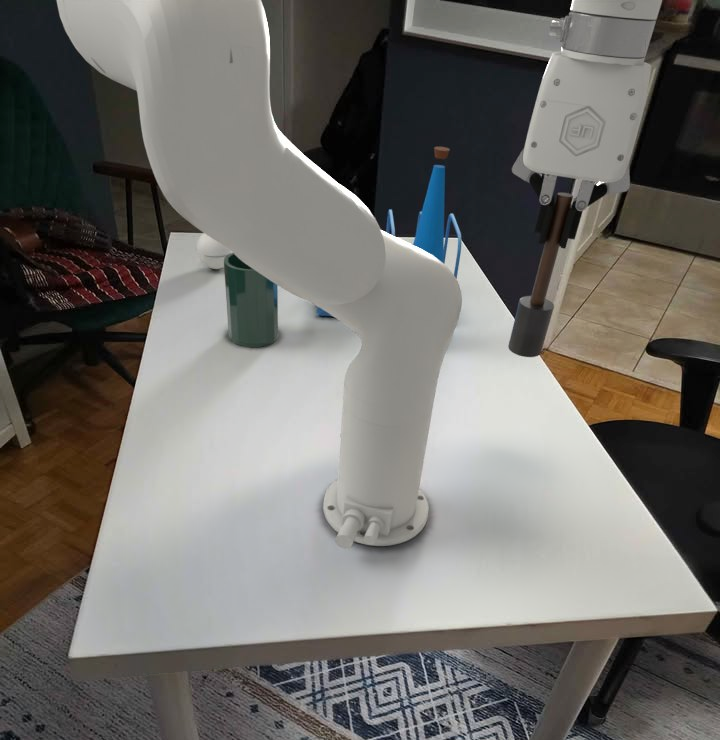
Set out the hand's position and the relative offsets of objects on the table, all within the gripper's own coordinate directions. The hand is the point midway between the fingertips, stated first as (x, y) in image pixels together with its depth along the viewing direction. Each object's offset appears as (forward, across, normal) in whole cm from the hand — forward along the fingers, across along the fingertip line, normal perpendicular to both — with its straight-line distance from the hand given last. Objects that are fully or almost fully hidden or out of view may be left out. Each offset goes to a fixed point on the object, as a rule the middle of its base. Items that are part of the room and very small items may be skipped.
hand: (552, 241), depth 71 cm
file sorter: (+29, -28, +40) cm, 56 cm away
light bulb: (+29, -62, +40) cm, 79 cm away
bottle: (+29, -18, +27) cm, 44 cm away
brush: (+13, 0, 0) cm, 13 cm away
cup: (+29, -44, +16) cm, 55 cm away
